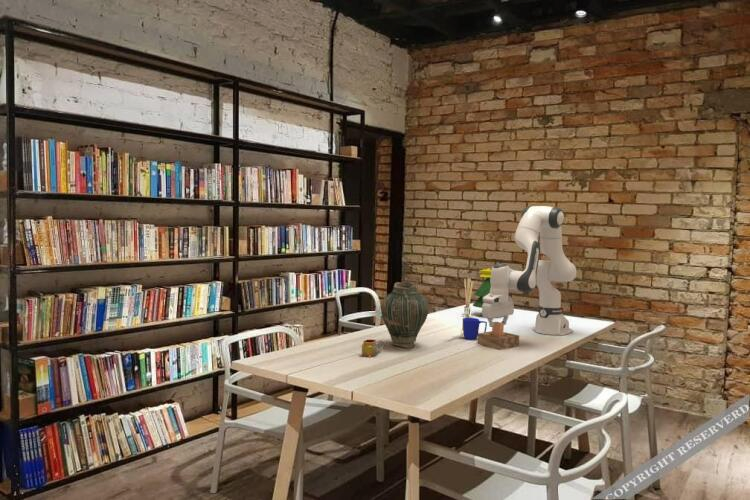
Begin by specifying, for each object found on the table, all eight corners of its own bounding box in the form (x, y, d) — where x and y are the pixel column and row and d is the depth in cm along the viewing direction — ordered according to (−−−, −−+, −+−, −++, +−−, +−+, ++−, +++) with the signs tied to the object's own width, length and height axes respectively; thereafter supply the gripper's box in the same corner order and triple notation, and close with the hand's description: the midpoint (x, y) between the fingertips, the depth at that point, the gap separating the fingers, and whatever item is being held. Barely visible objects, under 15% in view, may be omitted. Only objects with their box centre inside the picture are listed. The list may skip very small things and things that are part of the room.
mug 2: (486, 341, 280) (487, 321, 279) (461, 339, 283) (462, 320, 282) (486, 337, 288) (487, 318, 288) (462, 336, 291) (463, 317, 290)
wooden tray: (495, 340, 284) (496, 330, 283) (518, 345, 273) (519, 335, 273) (477, 343, 275) (477, 333, 274) (500, 349, 264) (500, 339, 264)
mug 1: (368, 358, 243) (369, 343, 242) (358, 354, 248) (358, 340, 248) (388, 354, 251) (389, 339, 250) (378, 350, 256) (379, 336, 255)
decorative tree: (496, 320, 338) (499, 270, 335) (467, 316, 348) (469, 267, 346) (508, 315, 354) (510, 267, 352) (479, 311, 364) (481, 265, 362)
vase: (396, 338, 282) (398, 278, 280) (435, 345, 270) (437, 282, 268) (370, 346, 264) (372, 282, 262) (411, 354, 252) (413, 287, 249)
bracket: (497, 343, 277) (498, 321, 276) (504, 345, 274) (505, 322, 273) (491, 344, 274) (492, 322, 273) (498, 346, 271) (499, 323, 270)
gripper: (507, 294, 281) (506, 322, 282) (480, 298, 268) (479, 326, 269) (517, 296, 276) (516, 324, 277) (490, 300, 263) (489, 329, 264)
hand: (497, 325), depth 273 cm, fingers open, 8 cm apart
